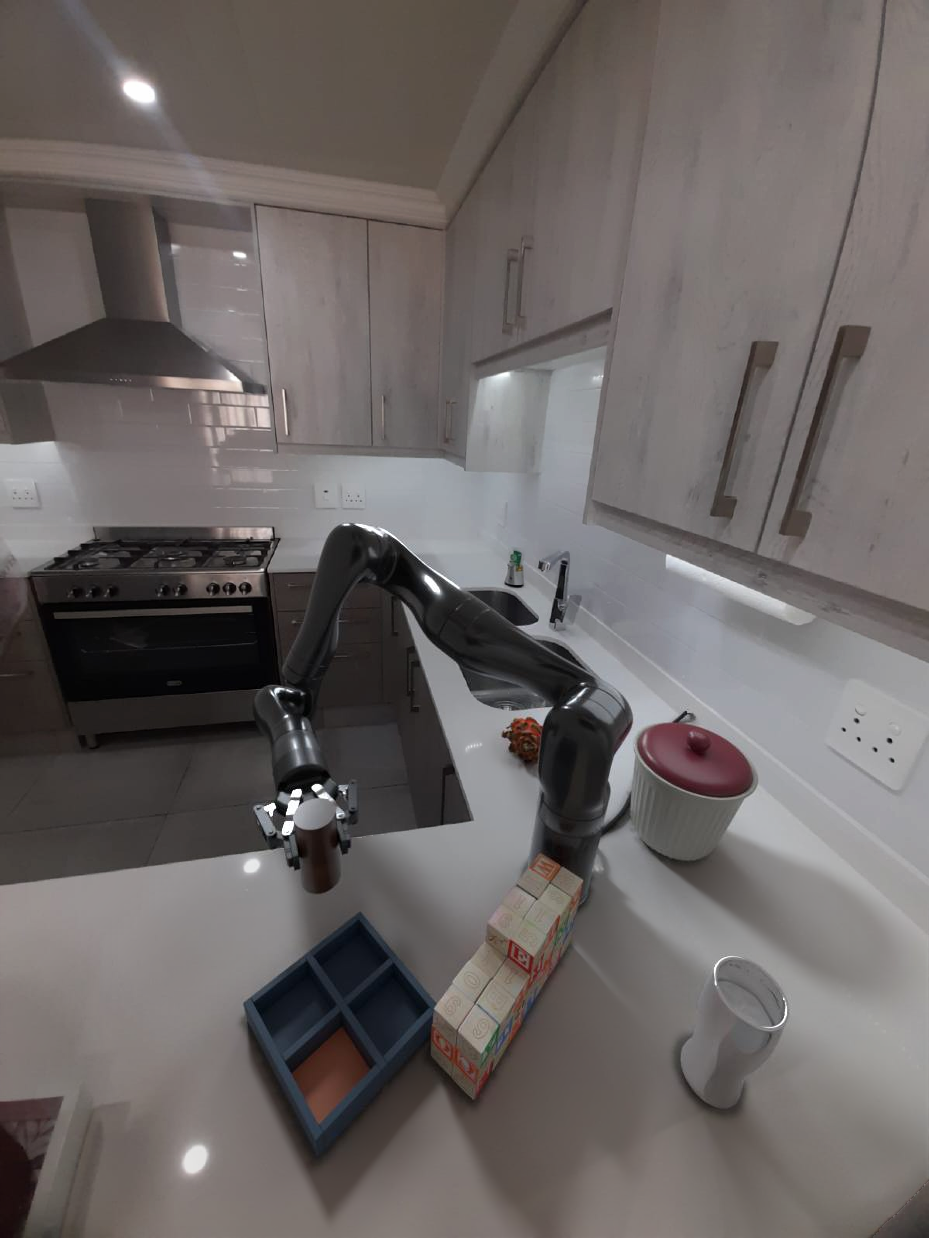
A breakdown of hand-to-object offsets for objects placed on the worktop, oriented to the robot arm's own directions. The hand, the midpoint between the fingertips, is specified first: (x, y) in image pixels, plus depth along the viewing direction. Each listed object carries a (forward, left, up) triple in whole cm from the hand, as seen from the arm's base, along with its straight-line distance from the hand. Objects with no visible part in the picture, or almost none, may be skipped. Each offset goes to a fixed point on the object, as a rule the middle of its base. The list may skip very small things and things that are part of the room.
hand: (321, 856), depth 58 cm
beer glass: (-22, +41, -15) cm, 49 cm away
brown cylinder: (-1, -2, -7) cm, 7 cm away
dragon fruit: (-49, -6, -15) cm, 51 cm away
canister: (-51, +24, -15) cm, 58 cm away
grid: (+4, +10, -15) cm, 18 cm away
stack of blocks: (-12, +21, -15) cm, 28 cm away
